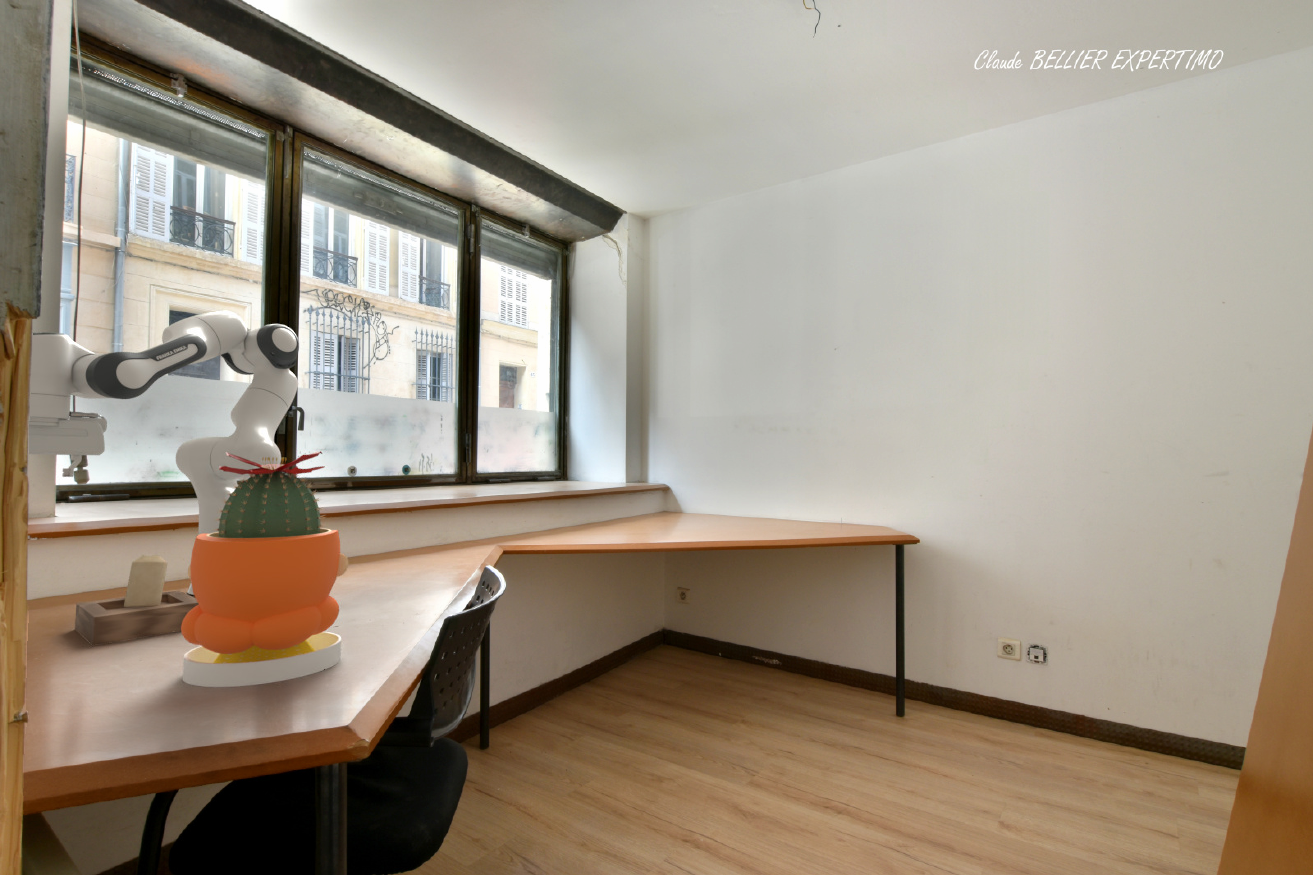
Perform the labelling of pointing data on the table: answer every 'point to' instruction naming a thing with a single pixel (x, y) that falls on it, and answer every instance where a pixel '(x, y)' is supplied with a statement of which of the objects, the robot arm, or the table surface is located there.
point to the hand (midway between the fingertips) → (35, 477)
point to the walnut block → (131, 618)
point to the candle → (146, 582)
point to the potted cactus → (264, 584)
